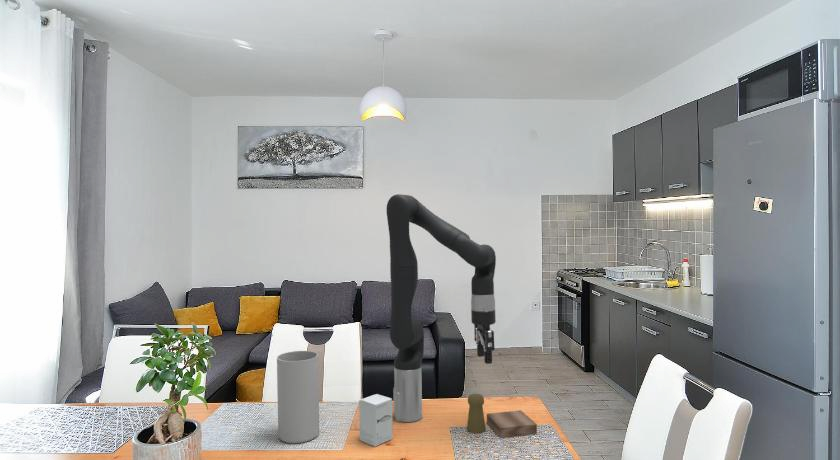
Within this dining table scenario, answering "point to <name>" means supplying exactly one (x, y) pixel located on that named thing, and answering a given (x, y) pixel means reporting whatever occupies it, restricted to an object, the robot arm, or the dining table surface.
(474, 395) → the olive knob-ended peg
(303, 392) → the cylinder vase
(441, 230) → the robot arm
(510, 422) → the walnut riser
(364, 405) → the supplement box
